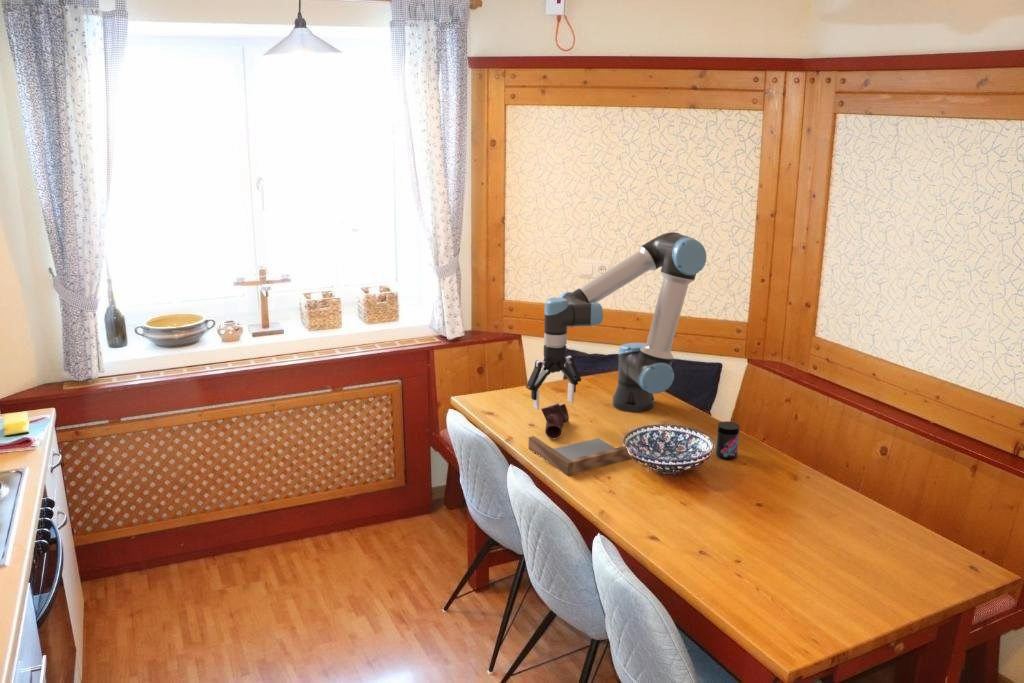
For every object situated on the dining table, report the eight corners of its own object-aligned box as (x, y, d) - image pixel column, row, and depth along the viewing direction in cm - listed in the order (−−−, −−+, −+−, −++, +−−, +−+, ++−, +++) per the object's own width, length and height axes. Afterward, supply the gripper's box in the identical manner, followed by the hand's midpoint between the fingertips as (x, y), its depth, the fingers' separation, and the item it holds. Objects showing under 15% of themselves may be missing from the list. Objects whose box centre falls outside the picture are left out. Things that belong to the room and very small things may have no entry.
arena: (590, 434, 289) (590, 423, 287) (632, 459, 269) (632, 447, 268) (528, 448, 277) (528, 437, 276) (567, 475, 258) (567, 463, 257)
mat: (598, 438, 285) (598, 437, 285) (617, 450, 276) (617, 449, 276) (546, 451, 275) (546, 450, 275) (565, 463, 266) (565, 462, 266)
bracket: (570, 412, 300) (559, 389, 296) (567, 440, 285) (556, 417, 281) (553, 417, 302) (542, 394, 298) (550, 446, 287) (539, 422, 283)
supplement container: (714, 459, 269) (716, 428, 266) (716, 450, 275) (718, 420, 272) (737, 461, 267) (739, 430, 264) (737, 453, 273) (740, 422, 270)
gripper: (580, 337, 294) (578, 395, 300) (516, 346, 282) (515, 407, 288) (592, 342, 287) (590, 402, 293) (528, 352, 276) (527, 414, 282)
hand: (553, 405), depth 291 cm, fingers open, 13 cm apart
